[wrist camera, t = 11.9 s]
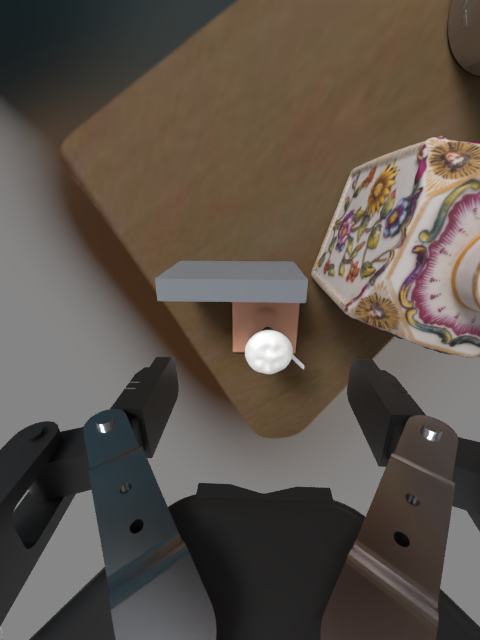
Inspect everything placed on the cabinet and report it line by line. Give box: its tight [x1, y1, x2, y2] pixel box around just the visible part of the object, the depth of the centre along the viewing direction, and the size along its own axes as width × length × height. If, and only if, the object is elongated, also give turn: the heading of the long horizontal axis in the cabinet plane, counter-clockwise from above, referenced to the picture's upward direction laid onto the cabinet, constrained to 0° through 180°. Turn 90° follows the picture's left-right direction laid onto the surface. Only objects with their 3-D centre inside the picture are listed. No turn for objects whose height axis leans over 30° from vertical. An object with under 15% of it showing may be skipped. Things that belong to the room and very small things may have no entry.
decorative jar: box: [311, 136, 480, 358], centre depth 22 cm, size 12×12×18 cm
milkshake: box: [245, 309, 305, 374], centre depth 29 cm, size 4×5×10 cm
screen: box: [155, 261, 308, 303], centre depth 28 cm, size 13×2×9 cm, turn 90°
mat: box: [232, 302, 300, 353], centre depth 34 cm, size 8×8×1 cm
